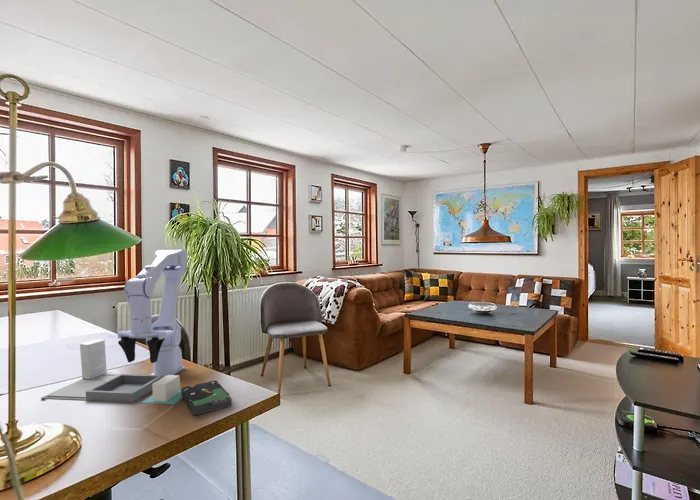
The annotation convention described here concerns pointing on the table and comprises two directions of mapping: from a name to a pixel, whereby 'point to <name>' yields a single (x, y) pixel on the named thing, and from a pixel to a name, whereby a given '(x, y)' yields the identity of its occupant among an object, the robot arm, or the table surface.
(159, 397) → the block
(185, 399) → the disk drive
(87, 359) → the skincare box
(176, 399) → the teal pad
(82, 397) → the case
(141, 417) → the table surface
